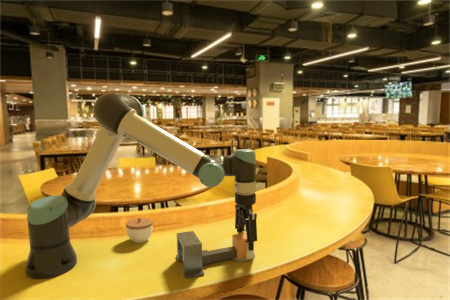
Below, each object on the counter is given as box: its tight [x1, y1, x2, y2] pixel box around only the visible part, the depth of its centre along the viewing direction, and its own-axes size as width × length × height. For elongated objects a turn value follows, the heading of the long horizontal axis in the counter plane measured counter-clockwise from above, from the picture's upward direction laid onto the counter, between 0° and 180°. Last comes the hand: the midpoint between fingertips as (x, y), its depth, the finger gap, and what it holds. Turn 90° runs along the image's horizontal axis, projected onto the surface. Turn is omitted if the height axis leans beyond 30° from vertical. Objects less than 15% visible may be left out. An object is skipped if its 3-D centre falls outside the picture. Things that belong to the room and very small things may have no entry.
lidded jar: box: [125, 217, 154, 244], centre depth 123 cm, size 11×11×9 cm
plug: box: [202, 232, 247, 266], centre depth 106 cm, size 5×18×7 cm, turn 110°
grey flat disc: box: [232, 253, 256, 263], centre depth 109 cm, size 9×9×1 cm
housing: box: [175, 230, 205, 280], centre depth 101 cm, size 16×6×10 cm, turn 21°
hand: (245, 253), depth 109 cm, fingers open, 7 cm apart
